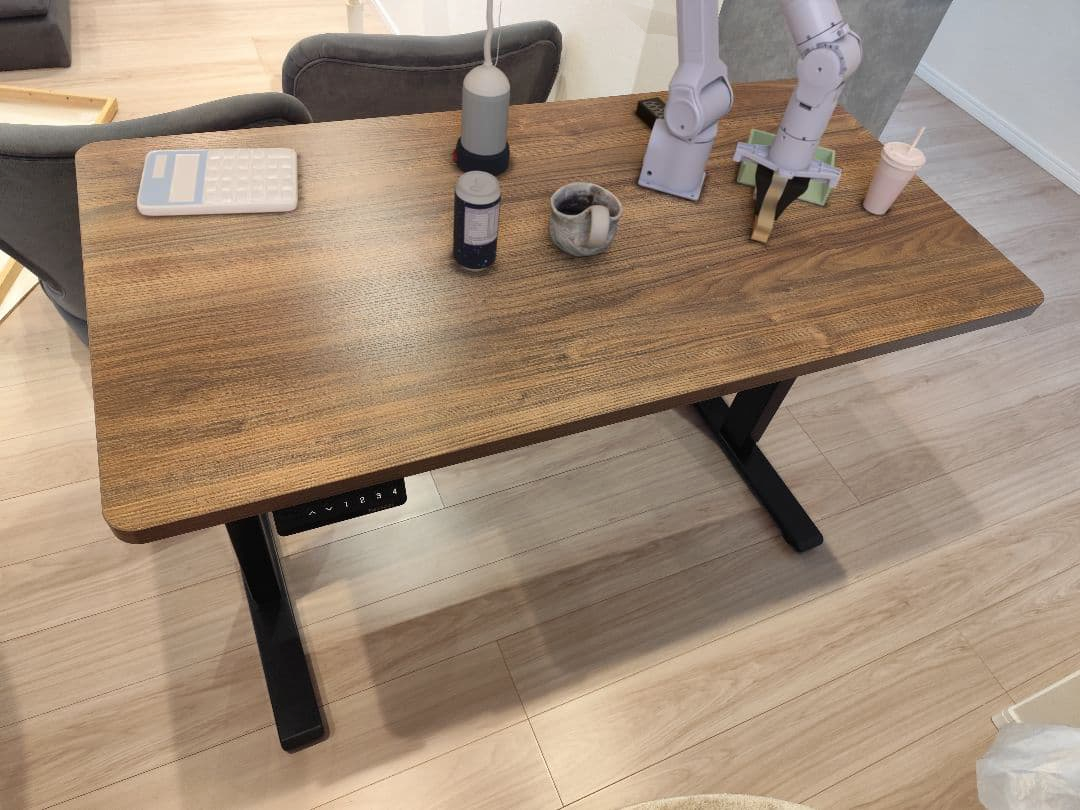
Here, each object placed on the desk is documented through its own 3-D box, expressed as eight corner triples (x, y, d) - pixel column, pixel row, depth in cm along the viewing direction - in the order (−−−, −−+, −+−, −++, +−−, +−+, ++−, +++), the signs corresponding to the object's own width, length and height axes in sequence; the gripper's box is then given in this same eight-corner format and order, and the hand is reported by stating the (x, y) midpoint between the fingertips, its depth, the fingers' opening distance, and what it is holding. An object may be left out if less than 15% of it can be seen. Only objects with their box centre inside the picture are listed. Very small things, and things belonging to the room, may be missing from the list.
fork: (773, 245, 106) (780, 230, 104) (743, 236, 107) (749, 221, 104) (786, 175, 116) (793, 161, 113) (759, 168, 116) (765, 153, 114)
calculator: (298, 212, 99) (296, 200, 98) (138, 218, 95) (133, 205, 94) (297, 156, 107) (296, 144, 106) (149, 159, 103) (145, 147, 102)
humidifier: (444, 156, 112) (446, -20, 92) (486, 141, 115) (497, -31, 96) (476, 183, 108) (486, 6, 89) (519, 167, 112) (537, -6, 93)
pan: (823, 205, 115) (832, 187, 112) (736, 181, 116) (743, 163, 114) (829, 142, 128) (837, 124, 125) (751, 121, 129) (757, 103, 127)
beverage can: (501, 254, 99) (508, 177, 89) (486, 279, 95) (491, 201, 86) (462, 241, 99) (465, 164, 90) (445, 266, 96) (447, 188, 87)
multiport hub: (655, 109, 128) (658, 96, 126) (691, 142, 122) (695, 129, 121) (634, 113, 126) (637, 100, 124) (670, 147, 121) (674, 134, 119)
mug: (598, 220, 106) (612, 159, 98) (632, 277, 99) (649, 216, 91) (535, 227, 103) (544, 165, 95) (565, 287, 96) (577, 224, 88)
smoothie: (896, 223, 114) (945, 142, 103) (856, 214, 114) (900, 132, 103) (892, 200, 118) (938, 119, 107) (853, 191, 118) (895, 110, 108)
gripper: (744, 129, 96) (713, 215, 106) (854, 159, 94) (812, 243, 105) (750, 104, 100) (720, 189, 110) (856, 132, 98) (815, 215, 109)
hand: (765, 214), depth 108 cm, fingers closed on fork, 2 cm apart
